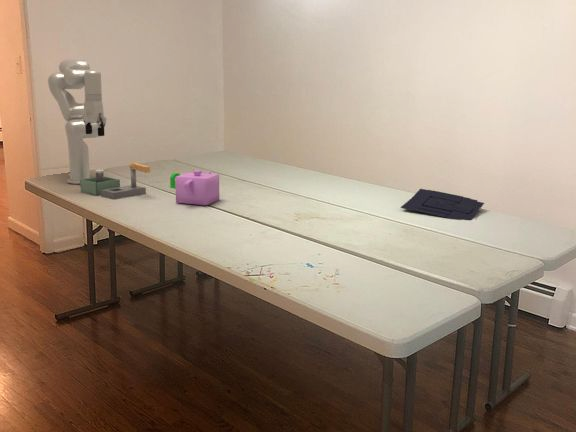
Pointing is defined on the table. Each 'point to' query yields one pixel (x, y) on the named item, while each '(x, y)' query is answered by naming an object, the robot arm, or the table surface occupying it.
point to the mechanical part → (173, 180)
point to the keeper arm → (140, 167)
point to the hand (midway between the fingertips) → (95, 134)
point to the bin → (98, 185)
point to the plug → (99, 175)
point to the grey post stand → (124, 189)
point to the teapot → (197, 188)
